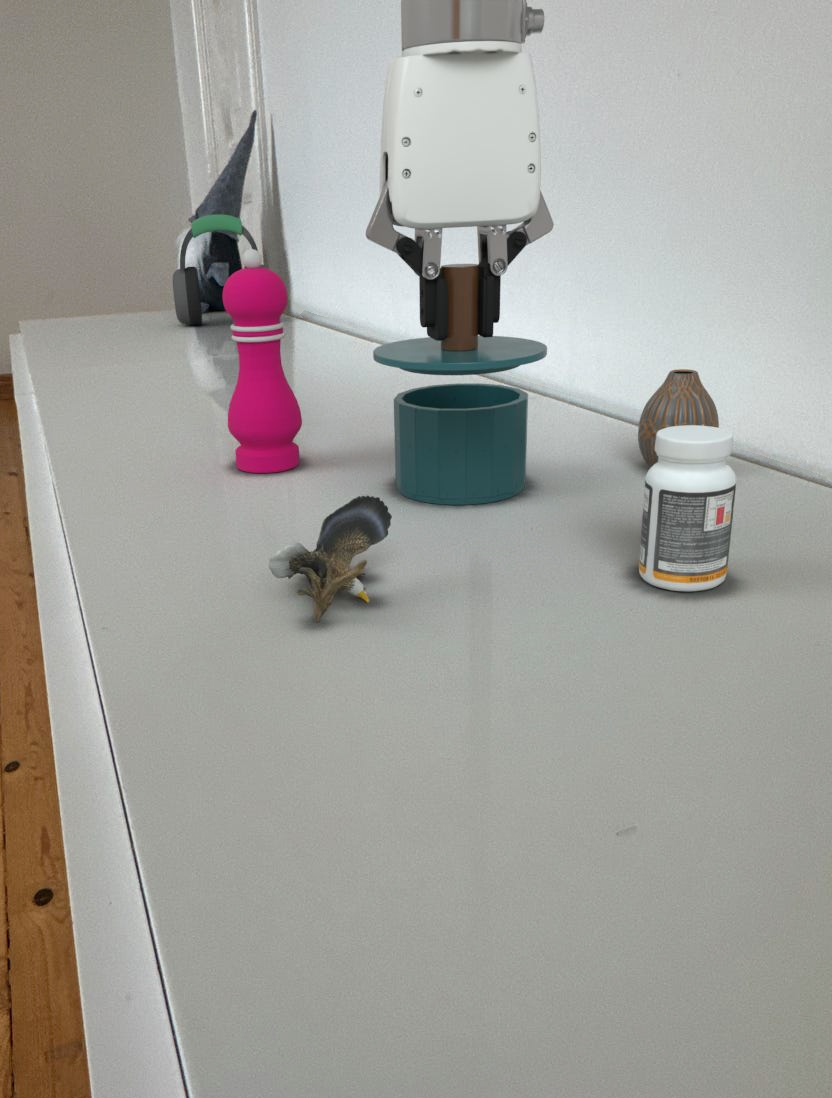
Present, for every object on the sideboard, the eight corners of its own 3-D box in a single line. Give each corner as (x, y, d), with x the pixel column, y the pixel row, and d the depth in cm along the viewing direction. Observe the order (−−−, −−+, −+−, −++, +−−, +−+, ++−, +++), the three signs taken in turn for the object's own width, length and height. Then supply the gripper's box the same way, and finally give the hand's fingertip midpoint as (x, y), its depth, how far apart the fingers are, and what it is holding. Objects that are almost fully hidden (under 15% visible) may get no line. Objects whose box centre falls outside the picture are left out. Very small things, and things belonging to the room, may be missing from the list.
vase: (669, 483, 87) (679, 382, 84) (619, 466, 93) (626, 370, 90) (730, 472, 90) (742, 372, 86) (678, 455, 96) (687, 361, 92)
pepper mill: (237, 457, 102) (218, 248, 94) (307, 454, 102) (294, 244, 94) (226, 476, 96) (205, 253, 87) (301, 473, 95) (287, 250, 87)
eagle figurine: (404, 609, 62) (417, 536, 69) (335, 524, 59) (356, 457, 66) (310, 660, 65) (331, 585, 72) (239, 581, 62) (269, 512, 70)
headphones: (271, 317, 205) (264, 211, 197) (274, 323, 196) (266, 213, 187) (179, 322, 204) (167, 216, 195) (177, 329, 194) (164, 218, 185)
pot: (501, 464, 96) (503, 379, 92) (543, 497, 85) (546, 403, 82) (385, 475, 94) (382, 389, 90) (413, 510, 84) (411, 415, 80)
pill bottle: (743, 580, 67) (762, 432, 63) (687, 601, 64) (703, 448, 60) (674, 557, 71) (688, 418, 67) (619, 577, 68) (629, 432, 64)
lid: (513, 346, 77) (516, 255, 74) (573, 372, 66) (578, 266, 64) (359, 356, 75) (355, 263, 73) (393, 385, 65) (391, 277, 62)
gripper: (562, 37, 67) (550, 322, 75) (324, 42, 65) (337, 336, 72) (608, 20, 60) (589, 336, 68) (344, 26, 58) (355, 352, 66)
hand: (459, 334), depth 70 cm, fingers closed on lid, 2 cm apart
